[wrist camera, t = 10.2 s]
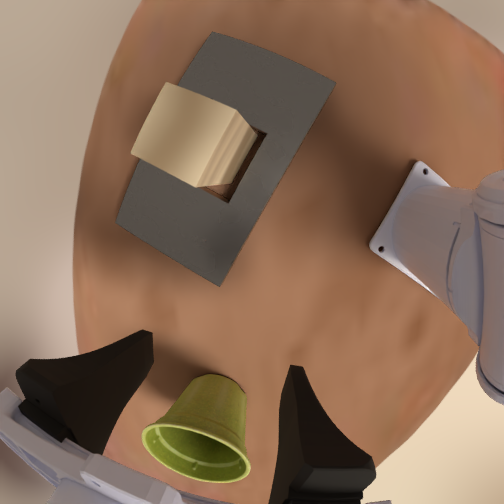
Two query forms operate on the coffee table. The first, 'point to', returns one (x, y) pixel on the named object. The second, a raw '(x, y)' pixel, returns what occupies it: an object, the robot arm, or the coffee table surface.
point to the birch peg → (194, 138)
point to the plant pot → (203, 432)
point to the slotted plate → (258, 173)
